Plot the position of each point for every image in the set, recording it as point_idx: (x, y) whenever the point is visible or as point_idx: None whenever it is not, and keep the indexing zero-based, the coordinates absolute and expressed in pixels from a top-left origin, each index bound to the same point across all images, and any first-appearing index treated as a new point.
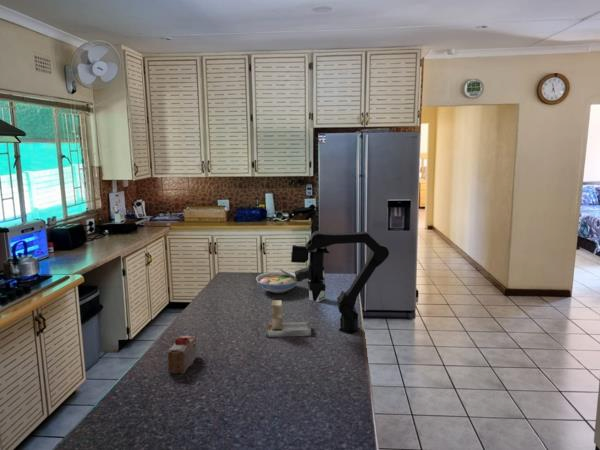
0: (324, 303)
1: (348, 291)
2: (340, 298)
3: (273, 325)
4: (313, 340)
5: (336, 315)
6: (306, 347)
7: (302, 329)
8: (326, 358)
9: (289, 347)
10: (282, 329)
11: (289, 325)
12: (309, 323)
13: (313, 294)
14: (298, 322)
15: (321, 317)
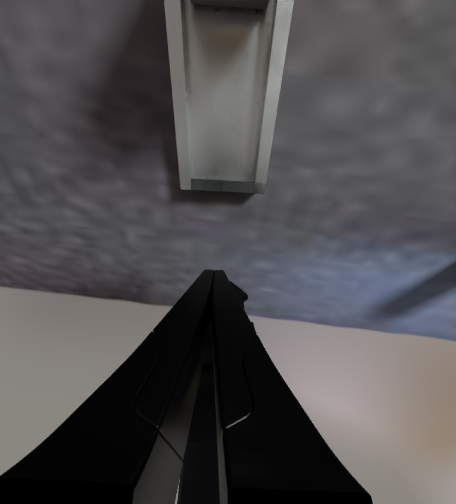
0: (448, 266)
1: (210, 464)
2: (209, 394)
3: None
4: (144, 188)
5: (329, 283)
6: (78, 152)
7: (184, 147)
8: (20, 213)
9: (52, 59)
10: (229, 11)
11: (266, 72)
12: (247, 190)
13: (162, 330)
14: (271, 133)
15: (334, 241)
